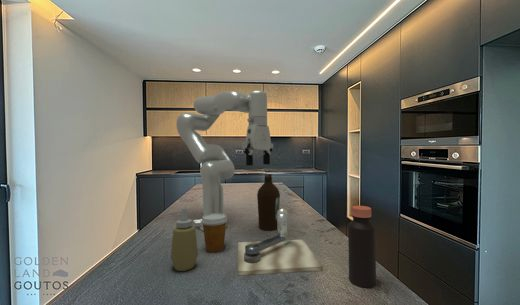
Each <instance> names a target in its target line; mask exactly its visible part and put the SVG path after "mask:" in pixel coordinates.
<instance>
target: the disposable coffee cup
mask: <svg viewBox="0 0 520 305" xmlns="http://www.w3.org/2000/svg"><path fill="white" fill-rule="evenodd" d="M227 217H228V216H227V214H226V213H224V214H221V213H213V214H207V215H204V216H203V215H202V218H201V219H202V220H201V222H202V224H203V230H204V231H203V235H204V243H205V250H206V252H209V253H218V252H221V251H223V250H224V245H225V238H226V229H227V227H226V224H227V222H228V219H229V218H227Z"/></svg>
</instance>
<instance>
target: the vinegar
mask: <svg viewBox="0 0 520 305" xmlns="http://www.w3.org/2000/svg"><path fill="white" fill-rule="evenodd" d="M351 217H352V220H351V221H350V222H349V224H348V227H347V228H348V230H347V231H348V232H347V233H348V237H347V238H348V279H349V282H351V283H352V284H353V285H355V286H356V287H361V288H365V289H367V288H373V287H375V285H376V284H377V258H376V257H377V251H376V248H377V246H376V243H377V242H376V235H377V234H376V226H375V225H374V224H373V222H371V219H372V208H371V207H369V206H366V205H353V206H351Z"/></svg>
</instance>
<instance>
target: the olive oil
mask: <svg viewBox="0 0 520 305" xmlns="http://www.w3.org/2000/svg"><path fill="white" fill-rule="evenodd" d="M272 175H273V174H271V173H265V174H264V183H262V184H261V186H260V187H259V188H258V190H257V192H256V193H257V194H256V197H257V199H256V200H257V212H258V229H260V230H262V231H276V230H277V211H278V210H279V209H280V205H281V204H280V202H281V200H280V199H281V195H280V194H281V193H280V191H279V189H278V187H277V186H276V185H275V184H274V183H273V177H272Z"/></svg>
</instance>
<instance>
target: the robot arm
mask: <svg viewBox="0 0 520 305" xmlns="http://www.w3.org/2000/svg"><path fill="white" fill-rule="evenodd" d="M193 108H194V110H195V111H196V112H197V113H192V112H183V113H180V114H179V115H178V116H177V119H176V129H177V130H176V131H177V133H178V136H180V138H181V139H182V141H183V142H184V143H185V145H186V146H187V148H188V149H189V151H190V153H191V155H192V157H193V158H194V160H195V161H196V162H197V163H198V164H201V165H200V170H199V172H200V174H199V175H200V178H201V183H202V184H201V186H202V217H203V216H204V215H207V214H213V213H221V214H225V212H224V187H223V185H222V182H221V181H222V180H229V179H231V178H233V176H234V175H235V170H236V169H235V166H234V163H233V161H232V160H231V158H230V157H229V155H228V154H227V153H226V151H225V150H224V148H223V147H222V146H221V145H218V144H211V143H207V142H206V141H205V139H204V138H203V137H202V135H201V134H200V133H198V132H197V131H199V132H205V131H207V130H210V128H211V127H212V126H213V125H214V124H215V122H216V121H217V120H218V119H219V117H220V115H222V114H224V113H225V112H226V111H235V112H240V113H246V114H248V118H247V122H248V125H247V129H246V134H245V135H246V137H245V141H243V142H242V143H241V144H240V147H241V149H242V152H243V153H244V155H245V161H246V162H245V165H246V166H250V167H251V166H253V165H254V156H253V155H252V154H253V152H254V151H262V152H263V156H262V157H263V158H262V159H263V161H262V162H263V165H271V164H270V163H271V161H270V160H271V155H272V151H273V148H274V143H272V142H271V133H270V128H269V126H268V95H267V92H265V91H263V90H252V91H250V92H249V93H248V94H246V93H242V92H239V91H233V90H231V91H230V90H229V91H220V92H218V93H217V94H216V95H208V96H207V95H206V96H199V97H197V98H196V99H195V100H194V102H193ZM201 220H202V218H200V219H198V218H196V219H193V224H195V225H199V230H200V231H203V232H204V230H203V224H202V222H201ZM226 228H228V224H227V223H226Z"/></svg>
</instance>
